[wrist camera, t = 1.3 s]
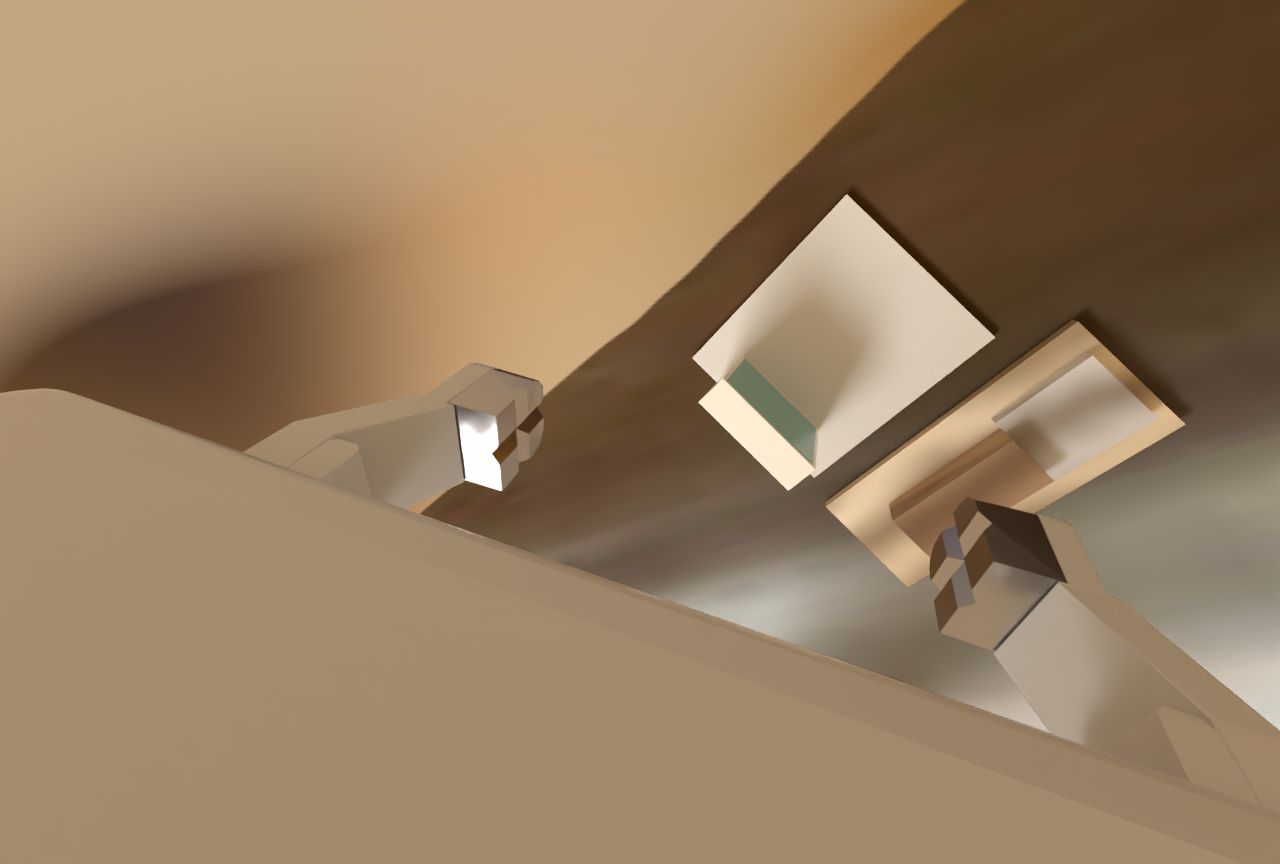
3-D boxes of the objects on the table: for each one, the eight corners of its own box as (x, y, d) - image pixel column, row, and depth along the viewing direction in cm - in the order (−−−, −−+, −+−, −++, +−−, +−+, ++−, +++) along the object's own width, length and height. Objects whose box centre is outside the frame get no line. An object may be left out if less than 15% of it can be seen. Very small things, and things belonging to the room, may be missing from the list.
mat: (993, 336, 38) (995, 337, 37) (814, 475, 46) (814, 477, 45) (846, 195, 38) (846, 194, 38) (693, 356, 46) (692, 358, 45)
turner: (1148, 413, 35) (1174, 426, 33) (931, 546, 43) (938, 566, 40) (1084, 352, 35) (1105, 360, 33) (879, 496, 43) (883, 512, 40)
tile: (818, 429, 44) (815, 469, 36) (796, 448, 45) (788, 490, 37) (743, 355, 44) (723, 377, 36) (722, 375, 45) (698, 402, 37)
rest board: (1176, 420, 36) (1185, 424, 35) (906, 581, 46) (908, 587, 45) (1072, 319, 36) (1078, 321, 35) (825, 501, 46) (825, 506, 45)
